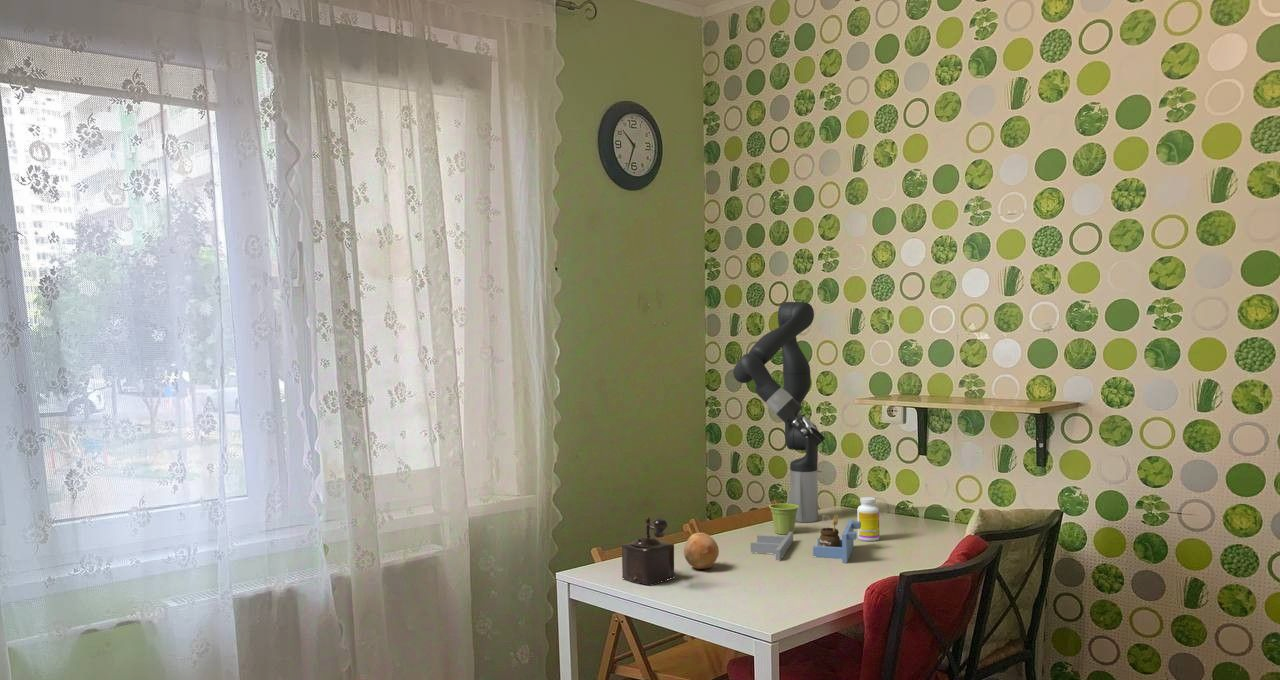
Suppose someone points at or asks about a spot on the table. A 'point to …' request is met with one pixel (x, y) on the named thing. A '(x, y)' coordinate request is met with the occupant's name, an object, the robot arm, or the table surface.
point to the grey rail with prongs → (772, 544)
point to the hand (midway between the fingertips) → (821, 442)
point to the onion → (701, 551)
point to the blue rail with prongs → (845, 544)
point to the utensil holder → (830, 535)
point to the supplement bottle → (868, 519)
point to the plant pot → (784, 517)
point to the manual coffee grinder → (649, 556)
